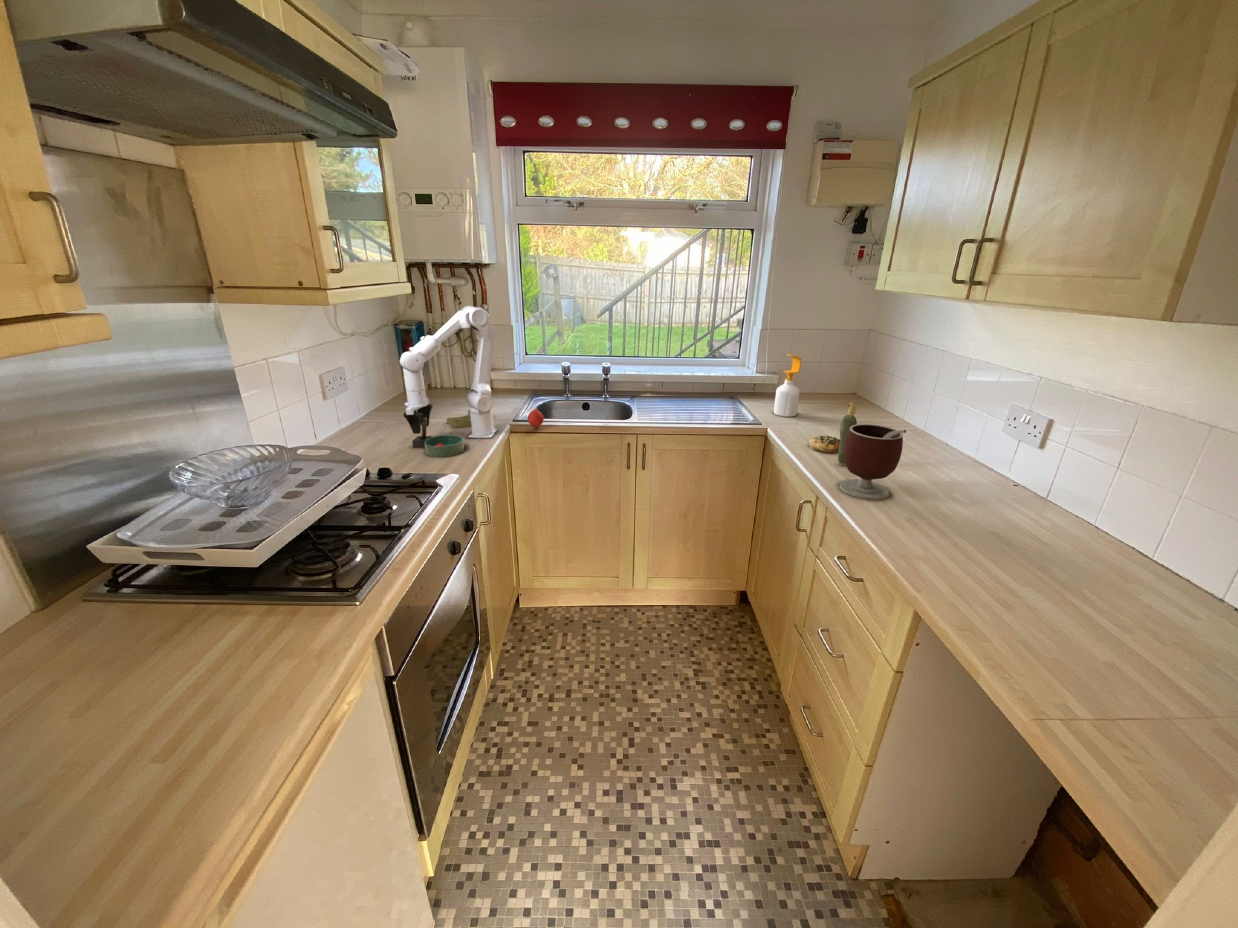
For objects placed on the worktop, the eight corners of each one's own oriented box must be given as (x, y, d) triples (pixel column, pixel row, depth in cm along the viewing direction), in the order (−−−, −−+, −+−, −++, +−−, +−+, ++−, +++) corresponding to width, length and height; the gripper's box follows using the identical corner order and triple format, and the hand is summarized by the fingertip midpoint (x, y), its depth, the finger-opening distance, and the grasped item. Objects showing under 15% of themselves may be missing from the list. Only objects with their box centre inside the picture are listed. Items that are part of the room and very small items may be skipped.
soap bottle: (768, 412, 213) (776, 353, 204) (785, 410, 217) (793, 352, 208) (783, 418, 206) (791, 357, 197) (801, 415, 209) (809, 355, 200)
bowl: (433, 444, 172) (431, 434, 171) (468, 444, 172) (467, 435, 171) (420, 457, 161) (418, 446, 160) (458, 457, 161) (456, 446, 160)
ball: (432, 445, 161) (434, 454, 162) (441, 445, 161) (443, 454, 162) (436, 442, 164) (438, 451, 165) (445, 442, 163) (447, 450, 164)
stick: (421, 444, 172) (423, 416, 168) (425, 445, 172) (427, 417, 168) (420, 445, 171) (422, 417, 167) (424, 446, 171) (426, 418, 167)
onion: (525, 429, 189) (523, 408, 186) (534, 425, 194) (533, 404, 191) (537, 431, 186) (536, 410, 183) (547, 427, 191) (546, 406, 188)
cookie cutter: (474, 413, 208) (473, 408, 208) (497, 417, 203) (497, 412, 203) (442, 424, 193) (441, 419, 192) (466, 429, 188) (466, 424, 188)
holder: (418, 442, 174) (417, 435, 173) (433, 443, 174) (432, 436, 173) (413, 447, 169) (412, 440, 168) (428, 447, 169) (427, 440, 168)
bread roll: (846, 445, 174) (847, 432, 171) (838, 459, 166) (839, 445, 163) (812, 441, 180) (813, 428, 177) (803, 453, 172) (804, 440, 169)
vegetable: (850, 468, 155) (862, 405, 148) (835, 467, 156) (846, 404, 148) (846, 463, 159) (858, 401, 152) (832, 462, 160) (843, 400, 152)
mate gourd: (825, 483, 144) (837, 415, 137) (863, 477, 149) (877, 411, 141) (868, 506, 131) (884, 432, 123) (908, 498, 135) (926, 427, 128)
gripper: (411, 384, 171) (417, 423, 176) (393, 395, 158) (400, 436, 163) (432, 384, 171) (437, 423, 176) (416, 395, 158) (422, 436, 163)
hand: (421, 429), depth 169 cm, fingers open, 7 cm apart
